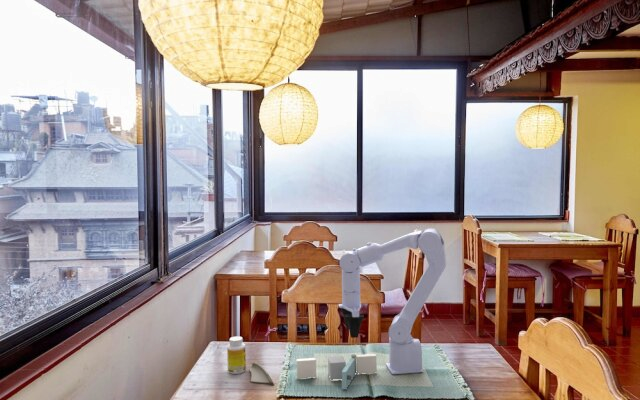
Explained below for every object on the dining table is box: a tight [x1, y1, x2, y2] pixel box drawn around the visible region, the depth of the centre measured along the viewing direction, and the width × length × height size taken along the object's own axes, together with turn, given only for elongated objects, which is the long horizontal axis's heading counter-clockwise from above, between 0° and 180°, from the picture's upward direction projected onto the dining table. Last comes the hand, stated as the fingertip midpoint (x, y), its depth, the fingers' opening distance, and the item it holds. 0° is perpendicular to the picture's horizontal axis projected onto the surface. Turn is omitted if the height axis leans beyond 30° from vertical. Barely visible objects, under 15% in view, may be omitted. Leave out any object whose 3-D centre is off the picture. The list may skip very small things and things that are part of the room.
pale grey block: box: [327, 355, 347, 380], centre depth 138 cm, size 4×4×6 cm
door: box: [341, 358, 356, 390], centre depth 134 cm, size 10×2×5 cm, turn 162°
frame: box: [296, 353, 378, 380], centre depth 139 cm, size 24×2×6 cm, turn 97°
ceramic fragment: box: [248, 362, 275, 386], centre depth 139 cm, size 14×5×4 cm, turn 32°
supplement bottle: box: [226, 335, 247, 375], centre depth 144 cm, size 6×6×10 cm
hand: (352, 333), depth 147 cm, fingers open, 7 cm apart
